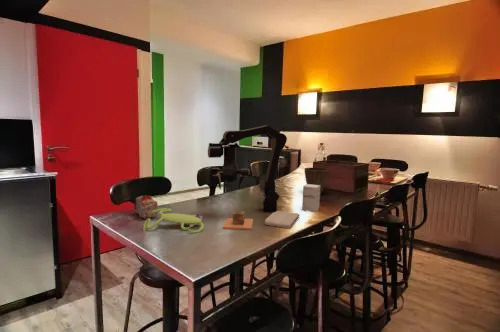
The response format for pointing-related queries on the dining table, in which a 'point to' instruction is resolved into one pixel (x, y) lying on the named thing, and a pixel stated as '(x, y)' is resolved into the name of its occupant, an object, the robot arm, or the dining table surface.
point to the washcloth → (282, 219)
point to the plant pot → (316, 176)
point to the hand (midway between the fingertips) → (229, 189)
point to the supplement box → (311, 197)
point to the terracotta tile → (230, 225)
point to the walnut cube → (238, 217)
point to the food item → (146, 207)
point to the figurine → (177, 220)
